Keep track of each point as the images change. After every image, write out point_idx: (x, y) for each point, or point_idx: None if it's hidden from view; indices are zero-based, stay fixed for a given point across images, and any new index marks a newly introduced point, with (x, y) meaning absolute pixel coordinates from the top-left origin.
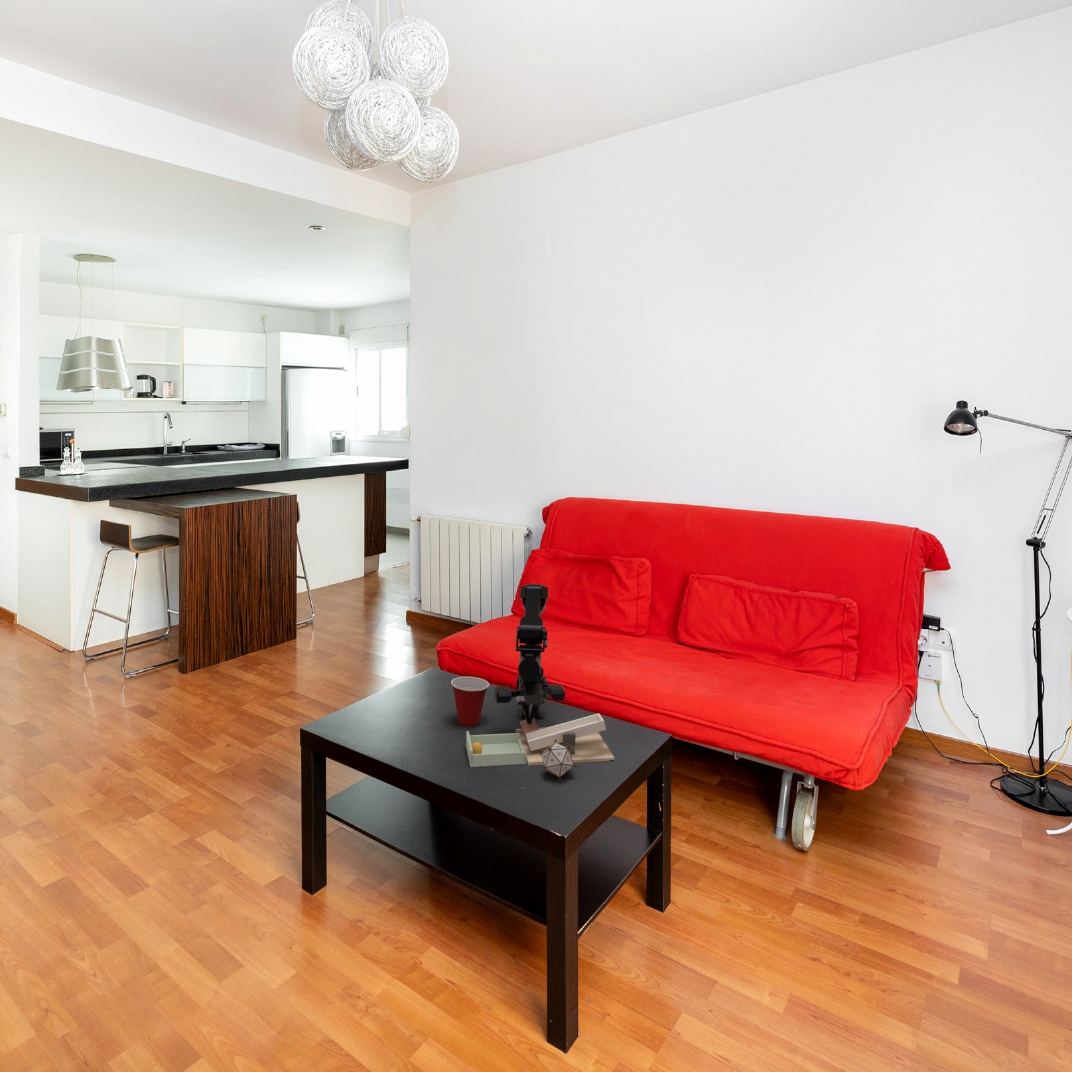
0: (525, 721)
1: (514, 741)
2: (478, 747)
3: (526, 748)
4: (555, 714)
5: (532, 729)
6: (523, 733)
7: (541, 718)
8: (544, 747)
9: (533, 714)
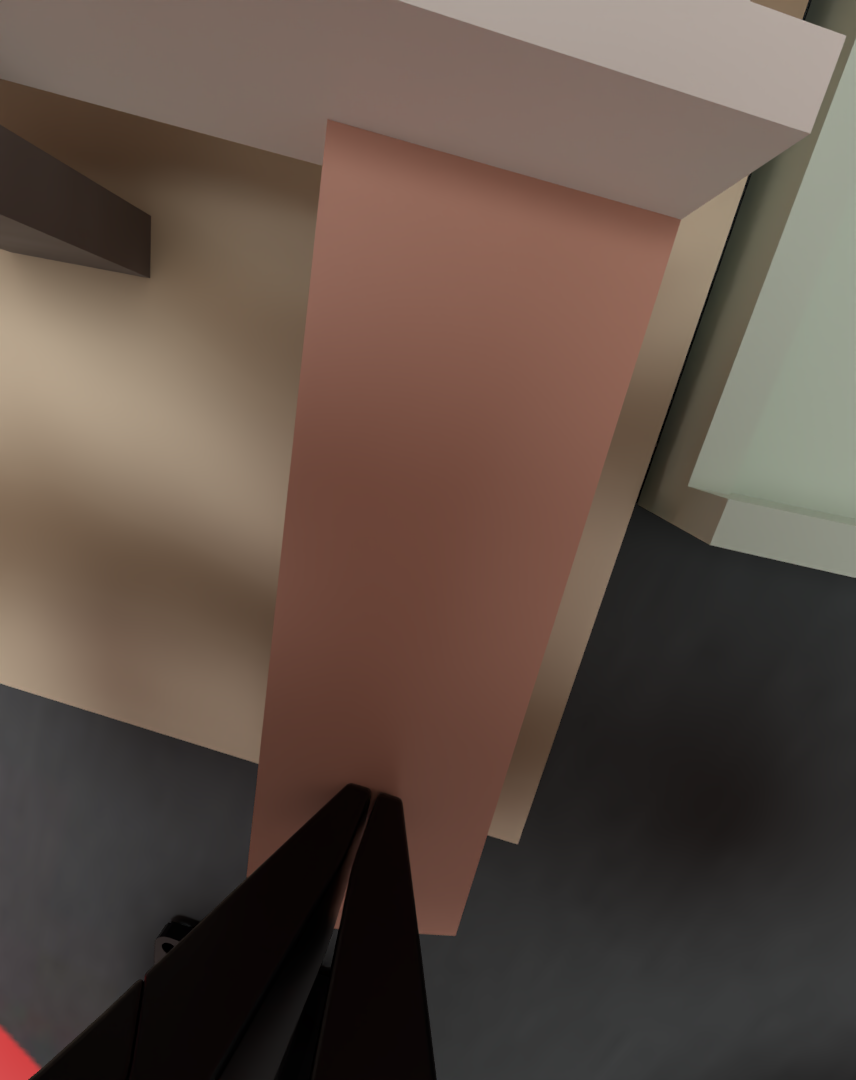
0: None
1: (751, 498)
2: None
3: None
4: (62, 936)
5: (402, 578)
6: None
7: (182, 926)
8: None
9: (204, 955)
